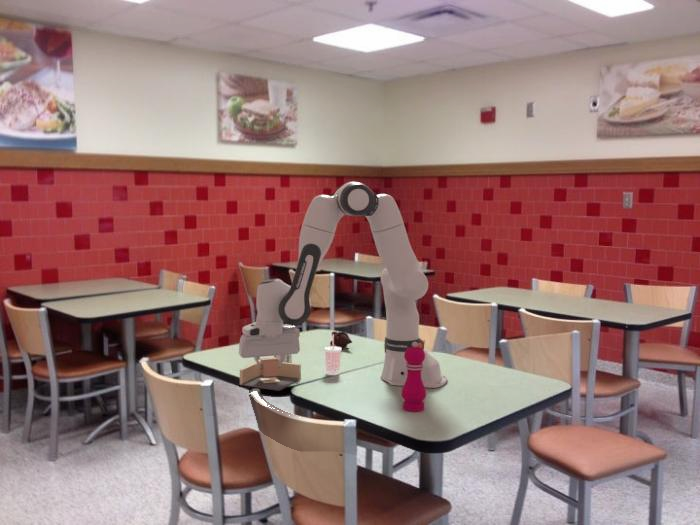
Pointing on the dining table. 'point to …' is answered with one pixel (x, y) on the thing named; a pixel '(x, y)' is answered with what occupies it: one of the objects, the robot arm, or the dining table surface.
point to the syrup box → (287, 357)
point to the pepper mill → (414, 380)
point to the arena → (270, 377)
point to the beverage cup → (332, 359)
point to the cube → (270, 367)
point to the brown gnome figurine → (341, 339)
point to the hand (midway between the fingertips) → (269, 368)
